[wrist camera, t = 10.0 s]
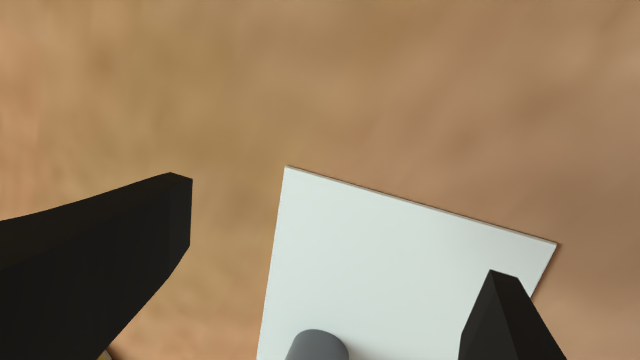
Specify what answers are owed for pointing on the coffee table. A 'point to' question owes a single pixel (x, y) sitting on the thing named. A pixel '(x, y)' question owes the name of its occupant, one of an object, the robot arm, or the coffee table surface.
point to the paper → (382, 270)
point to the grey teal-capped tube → (317, 346)
